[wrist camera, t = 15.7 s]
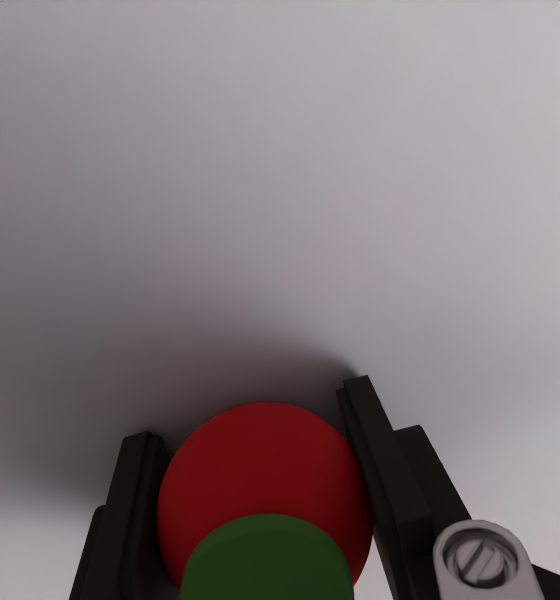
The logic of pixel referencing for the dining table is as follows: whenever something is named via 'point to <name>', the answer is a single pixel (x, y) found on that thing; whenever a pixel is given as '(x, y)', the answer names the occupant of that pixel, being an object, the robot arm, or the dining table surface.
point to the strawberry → (264, 509)
